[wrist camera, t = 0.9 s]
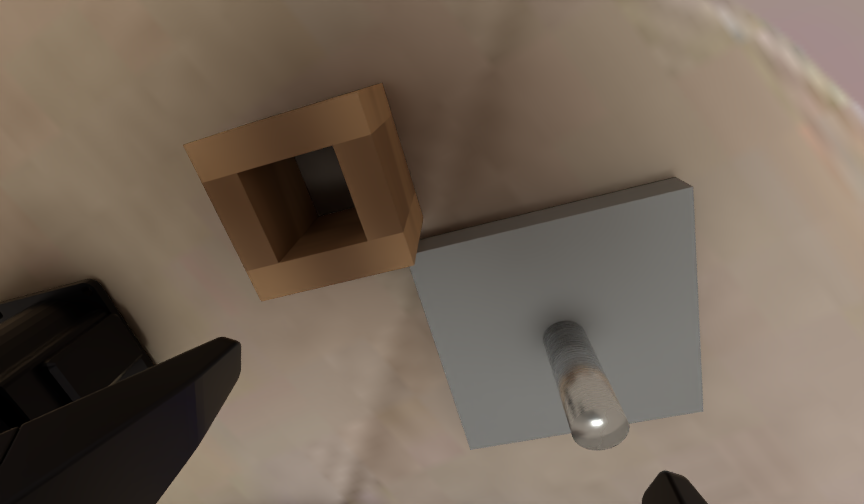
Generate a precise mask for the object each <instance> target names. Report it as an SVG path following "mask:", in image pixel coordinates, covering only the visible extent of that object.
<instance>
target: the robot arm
mask: <svg viewBox="0 0 864 504" xmlns="http://www.w3.org/2000/svg"><path fill="white" fill-rule="evenodd" d="M89 289H90V290H91V291H90V290H89ZM240 372H241V344H240V342H238V341H236V340H233V339H230V338H226V337H218V338H216V339H214V340H211V341H209V342H207V343H205V344H202V345H200V346H198V347H196V348H193V349H191V350H189V351H187V352H184V353H182V354H180V355H178V356H175V357H173V358H171V359H168V360H166V361H164V362H162V363H159V364H157V365H155V366H154V365H153V363H152V362H151V360H150V359H149V357H148V356H147V354H146V353H145V351H144V350H143V348H142V347H141V345H140V344H139V342H138V340H137V339H136V337H135V336H134V334H133V333H132V331H131V330H130V328H129V327H128V325H127V324H126V322H125V321H124V319H123V318H122V316H121V315H120V313H119V312H118V310H117V309H116V307H115V305H114V304H113V302H112V301H111V299H110V298H109V296H108V295H107V293H106V292H105V290H104V289H103V287H102V286H101V285H100V283H99V282H97V281H95V280H92V279H87V280H83V281H79V282H75V283H72V284H68V285H64V286H60V287H56V288H53V289H49V290H45V291H41V292H37V293H33V294H30V295H26V296H22V297H18V298H14V299H10V300H7V301H3V302H0V504H156V503H157V502H158V500H159V499H160V498H161V496H162V495H163V494H164V492H165V491H166V489H167V488H168V487H169V485H170V484H171V483H172V481H173V480H174V479H175V477H176V476H177V475H178V473H179V472H180V471H181V469H182V468H183V466H184V465H185V464H186V462H187V461H188V460H189V458H190V457H191V456H192V454H193V453H194V451H195V450H196V448H197V447H198V446H199V444H200V442H201V441H202V439H203V438H204V436H205V434H206V433H207V431H208V429H209V428H210V426H211V424H212V422H213V421H214V419H215V417H216V416H217V414H218V412H219V411H220V409H221V407H222V406H223V404H224V402H225V400H226V399H227V397H228V395H229V394H230V392H231V390H232V389H233V387H234V385H235V384H236V382H237V380H238V378H239V375H240ZM642 504H708V503H707V502H706V501H705V500H704V498H703V497H702V496H701V495H700V494H699V492H698V491H697V490H696V489H695V488H694V486H693V485H692V484H691V483H690V482H689V480H688V479H687V478H685V477H684V476H682V475H679V474H676V473H673V472H669V471H662V472H660V473H659V474H658V475H657V477H656V478H655V479H654V481H653V482H652V483H651V485H650V486H649V487H648V489H647V490H646V491H645V493H644V495H643V498H642Z"/></svg>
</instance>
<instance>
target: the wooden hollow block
mask: <svg viewBox="0 0 864 504" xmlns="http://www.w3.org/2000/svg"><path fill="white" fill-rule="evenodd" d="M332 145H333V148H334V151H335V153H336V156H337V159H338V162H339V164H340V167H341V170H342V172H343V175H344V178H345V181H346V183H347V186H348V189H349V192H350V194H351V197H352V200H353V202H354V205H355V207H353V208H350V209H346V210H342V211H338V212H334V213H330V214H327V215H323V216H319V217H318V215H317V212H316V210H315V207H314V205H313V202H312V200H311V198H310V195H309V193H308V190H307V188H306V185H305V183H304V180H303V178H302V175H301V173H300V170H299V168H298V165H297V163H296V161H295V158H294V156H297V155H301V154H304V153H308V152H311V151H315V150H318V149H322V148H325V147H329V146H332ZM183 146H184V148H185V150H186V152H187V154H188V156H189V158H190V160H191V162H192V164H193V166H194V168H195V170H196V172H197V174H198V176H199V178H200V180H201V182H202V184H203V186H204V188H205V190H206V192H207V194H208V196H209V198H210V200H211V202H212V204H213V206H214V208H215V210H216V212H217V214H218V216H219V218H220V220H221V222H222V224H223V226H224V228H225V230H226V232H227V234H228V236H229V238H230V240H231V242H232V244H233V246H234V248H235V250H236V252H237V254H238V256H239V258H240V260H241V262H242V264H243V266H244V268H245V270H246V272H247V274H248V276H249V278H250V280H251V282H252V284H253V286H254V288H255V290H256V292H257V294H258V296H259V298H260V300H261V301H265V300H269V299H274V298H278V297H282V296H286V295H291V294H295V293H299V292H303V291H308V290H312V289H316V288H320V287H325V286H329V285H333V284H337V283H342V282H346V281H350V280H354V279H359V278H363V277H367V276H371V275H376V274H380V273H384V272H388V271H393V270H397V269H401V268H405V267H409V266H414V264H415V259H416V254H417V248H418V243H419V238H420V233H421V227H422V222H423V215H422V212H421V209H420V205H419V202H418V199H417V195H416V192H415V189H414V186H413V182H412V179H411V176H410V173H409V169H408V166H407V163H406V159H405V156H404V153H403V150H402V146H401V143H400V140H399V137H398V133H397V130H396V127H395V123H394V120H393V117H392V114H391V110H390V107H389V104H388V100H387V97H386V94H385V91H384V87H383V84H382V83H380V84H376V85H373V86H370V87H367V88H363V89H360V90H357V91H354V92H350V93H347V94H344V95H340V96H337V97H334V98H331V99H327V100H324V101H321V102H318V103H314V104H311V105H308V106H304V107H301V108H298V109H295V110H291V111H288V112H285V113H282V114H278V115H275V116H272V117H268V118H265V119H262V120H259V121H255V122H252V123H249V124H246V125H243V126H240V127H237V128H233V129H230V130H227V131H224V132H221V133H218V134H215V135H212V136H209V137H206V138H203V139H200V140H196V141H193V142H190V143H187V144H184V145H183Z"/></svg>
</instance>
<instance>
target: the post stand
mask: <svg viewBox="0 0 864 504" xmlns="http://www.w3.org/2000/svg"><path fill="white" fill-rule="evenodd" d="M409 267H410V270H411V273H412V276H413V279H414V282H415V285H416V288H417V291H418V294H419V297H420V300H421V303H422V306H423V309H424V312H425V315H426V318H427V321H428V324H429V327H430V330H431V333H432V336H433V339H434V342H435V345H436V348H437V351H438V354H439V357H440V360H441V363H442V366H443V369H444V372H445V375H446V378H447V381H448V384H449V387H450V390H451V393H452V396H453V399H454V402H455V405H456V408H457V411H458V414H459V417H460V420H461V423H462V426H463V429H464V432H465V435H466V438H467V441H468V444H469V447H470V450H472V449H478V448H484V447H490V446H496V445H503V444H509V443H515V442H521V441H527V440H533V439H539V438H545V437H551V436H557V435H563V434H569V433H571V434H572V437H573V439H574V440H575V442H576V443H577V444H578V445H580V446H581V447H583V448H586V449H589V450H605V449H609V448H612V447H614V446H616V445H618V444H620V443H621V442H622V441H623V440H624V439H625V438H626V436H627V434H628V432H629V424H630V423H636V422H642V421H648V420H654V419H660V418H666V417H672V416H678V415H684V414H690V413H696V412H702V411H703V394H702V372H701V349H700V327H699V305H698V283H697V261H696V239H695V217H694V194H693V186H691V185H689V184H687V183H685V182H684V181H682V180H680V179H678V178H676V177H674V178H670V179H666V180H662V181H658V182H654V183H650V184H646V185H642V186H638V187H634V188H629V189H625V190H621V191H617V192H613V193H609V194H605V195H601V196H597V197H593V198H589V199H584V200H580V201H576V202H572V203H568V204H564V205H560V206H556V207H552V208H548V209H544V210H539V211H535V212H531V213H527V214H523V215H519V216H515V217H511V218H507V219H503V220H499V221H494V222H490V223H486V224H482V225H478V226H474V227H470V228H466V229H462V230H458V231H454V232H449V233H445V234H441V235H437V236H433V237H429V238H425V239H421V240H419V243H418V248H417V254H416V259H415V264H414V266H409Z"/></svg>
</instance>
